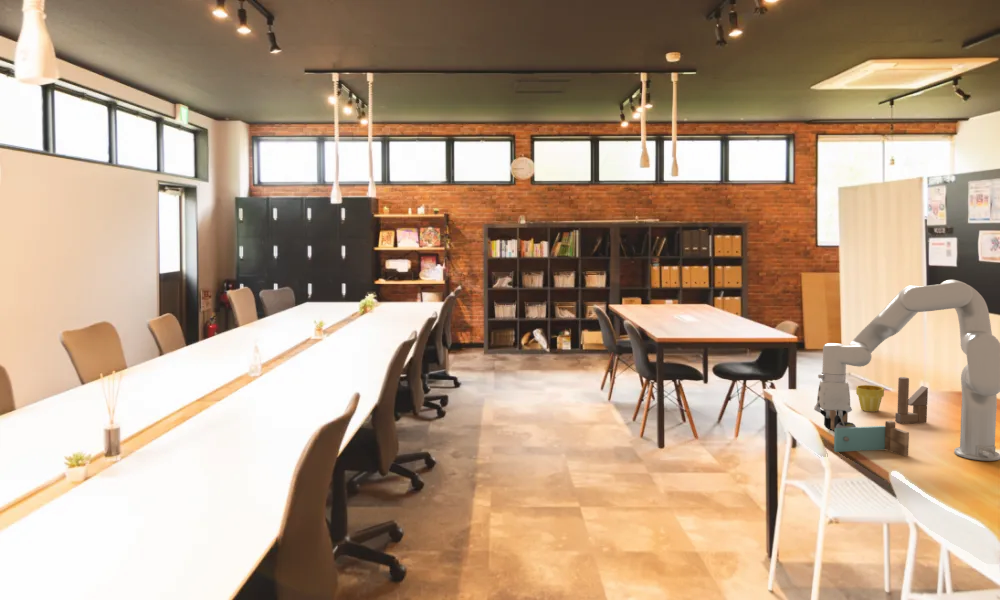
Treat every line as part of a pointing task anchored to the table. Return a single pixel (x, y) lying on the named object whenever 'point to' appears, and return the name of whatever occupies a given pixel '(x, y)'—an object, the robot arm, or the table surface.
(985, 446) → the robot arm
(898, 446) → the gate frame
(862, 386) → the plant pot
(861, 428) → the door
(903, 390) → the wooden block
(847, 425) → the mate gourd
